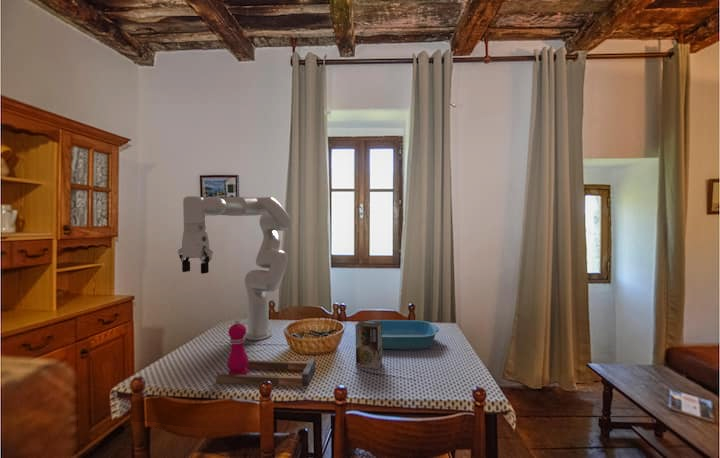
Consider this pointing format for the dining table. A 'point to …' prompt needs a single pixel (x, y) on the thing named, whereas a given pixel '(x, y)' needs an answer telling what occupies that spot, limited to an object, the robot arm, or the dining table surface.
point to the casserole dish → (407, 334)
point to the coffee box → (368, 344)
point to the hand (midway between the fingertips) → (195, 272)
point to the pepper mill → (237, 350)
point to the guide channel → (275, 380)
